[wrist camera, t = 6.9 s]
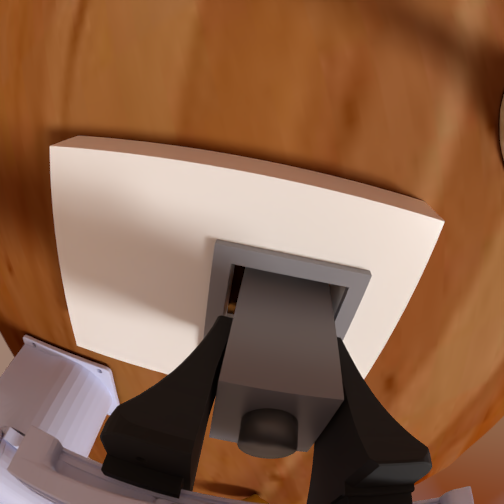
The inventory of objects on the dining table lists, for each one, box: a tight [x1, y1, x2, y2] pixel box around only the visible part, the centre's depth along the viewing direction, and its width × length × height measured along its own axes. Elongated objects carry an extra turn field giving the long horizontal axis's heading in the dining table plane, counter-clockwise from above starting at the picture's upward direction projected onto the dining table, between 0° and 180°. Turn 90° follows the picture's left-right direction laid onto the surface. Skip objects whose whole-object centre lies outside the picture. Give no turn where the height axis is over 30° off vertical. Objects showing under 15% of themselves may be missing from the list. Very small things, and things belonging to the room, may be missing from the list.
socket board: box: [50, 136, 445, 379], centre depth 16 cm, size 18×13×3 cm
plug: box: [209, 267, 344, 458], centre depth 13 cm, size 4×4×8 cm
